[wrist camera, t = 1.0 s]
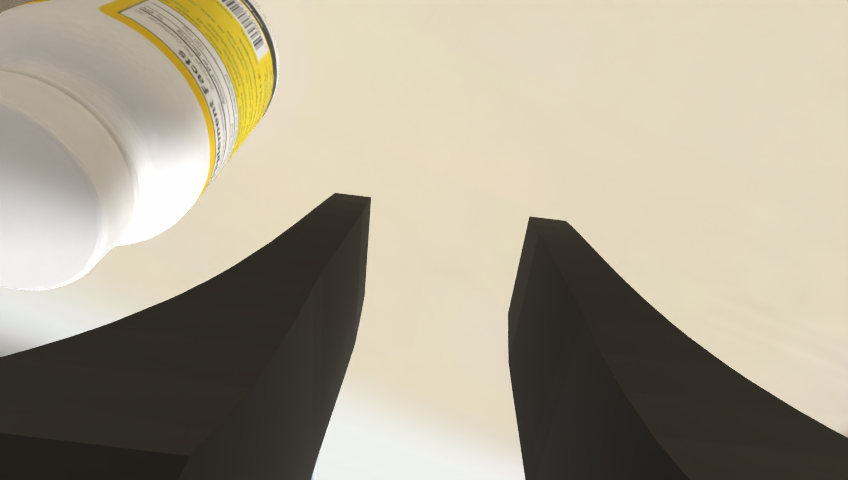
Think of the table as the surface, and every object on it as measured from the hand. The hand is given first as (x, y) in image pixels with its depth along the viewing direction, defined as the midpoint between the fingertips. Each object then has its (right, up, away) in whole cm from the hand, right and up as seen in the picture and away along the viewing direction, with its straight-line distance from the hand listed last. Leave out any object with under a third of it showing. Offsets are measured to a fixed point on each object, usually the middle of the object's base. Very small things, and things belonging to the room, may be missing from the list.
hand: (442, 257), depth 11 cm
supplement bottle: (-7, +6, +9) cm, 13 cm away
